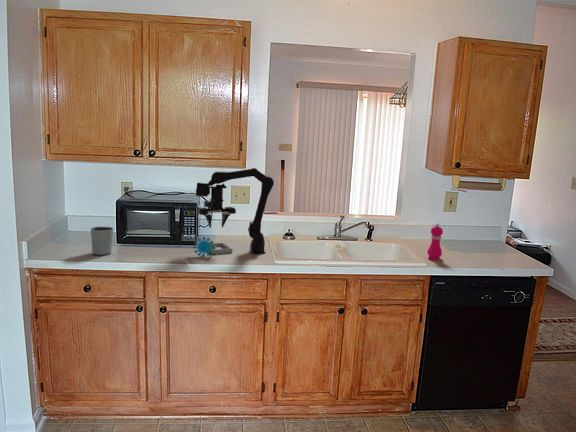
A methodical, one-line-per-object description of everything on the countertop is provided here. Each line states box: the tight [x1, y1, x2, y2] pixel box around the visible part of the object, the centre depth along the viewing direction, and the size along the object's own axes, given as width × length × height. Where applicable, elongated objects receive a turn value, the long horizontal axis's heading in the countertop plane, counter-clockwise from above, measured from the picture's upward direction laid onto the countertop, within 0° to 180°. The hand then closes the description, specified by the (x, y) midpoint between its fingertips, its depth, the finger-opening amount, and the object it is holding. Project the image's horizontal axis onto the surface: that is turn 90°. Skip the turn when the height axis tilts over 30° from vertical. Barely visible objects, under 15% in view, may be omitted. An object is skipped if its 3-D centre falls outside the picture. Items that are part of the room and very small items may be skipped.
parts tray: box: [208, 242, 233, 255], centre depth 249 cm, size 11×15×2 cm
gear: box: [193, 236, 217, 257], centre depth 238 cm, size 11×6×10 cm
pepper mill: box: [427, 223, 444, 261], centre depth 250 cm, size 7×7×20 cm
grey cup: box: [90, 226, 114, 256], centre depth 232 cm, size 10×10×12 cm
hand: (216, 227), depth 244 cm, fingers open, 6 cm apart
